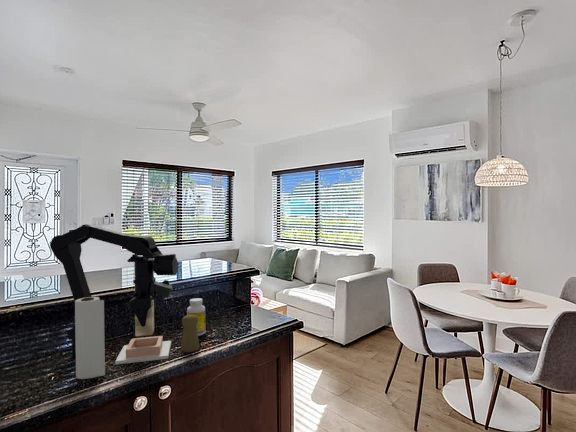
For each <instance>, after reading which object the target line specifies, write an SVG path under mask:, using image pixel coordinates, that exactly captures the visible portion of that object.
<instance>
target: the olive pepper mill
mask: <svg viewBox="0 0 576 432" xmlns="http://www.w3.org/2000/svg"><path fill="white" fill-rule="evenodd" d="M197 323H198V318H197V316H196V315H187V314H186V315H184V316H183V317H182V319H181V324H182V326H183V330H182V339H181V345H180V347H181V348H180V351H182V352H183V353H192V352H196V351H198V350H200V341H199V340H200V339H199V336H198V333H197V326H196V325H197Z"/></svg>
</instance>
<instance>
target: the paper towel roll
mask: <svg viewBox="0 0 576 432" xmlns="http://www.w3.org/2000/svg"><path fill="white" fill-rule="evenodd" d="M104 313H105V299H100V297H98V296H92V297H87V298H81V299H77V300H75V301H74V315H75V320H74V326H75V337H76V358H75V377H76V379H78V380H86V379H93V378H98V377H102V376H106V362H105V360H106V358H105V356H106V355H105V354H106V353H105V351H106V350H105V315H104Z"/></svg>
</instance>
